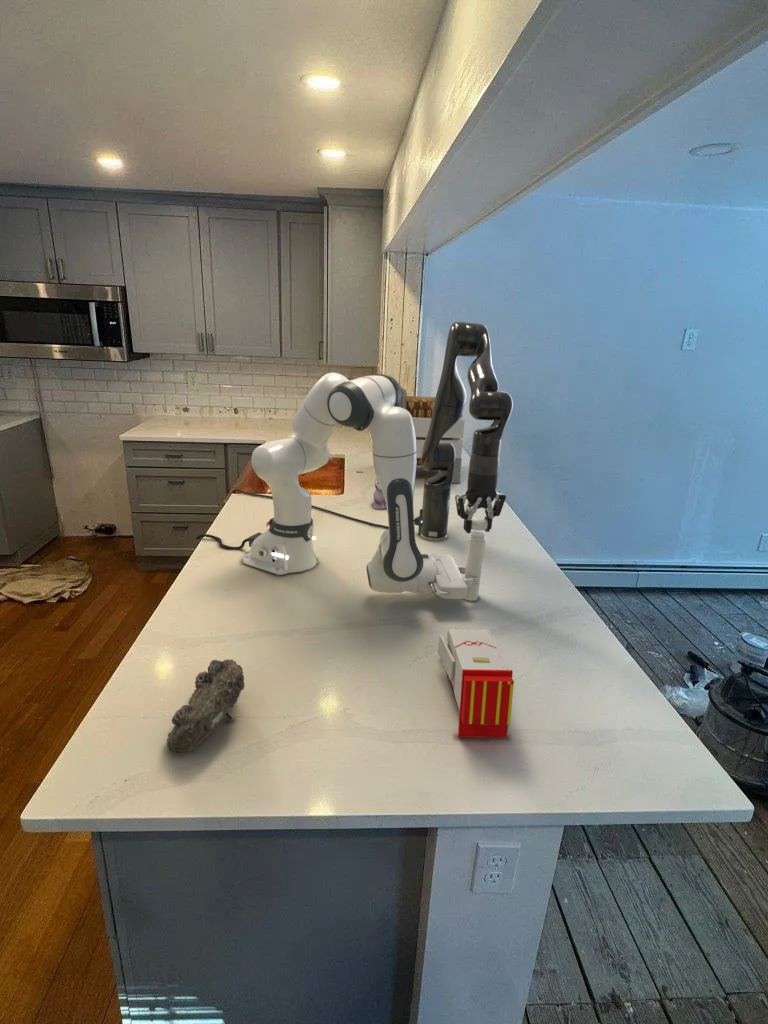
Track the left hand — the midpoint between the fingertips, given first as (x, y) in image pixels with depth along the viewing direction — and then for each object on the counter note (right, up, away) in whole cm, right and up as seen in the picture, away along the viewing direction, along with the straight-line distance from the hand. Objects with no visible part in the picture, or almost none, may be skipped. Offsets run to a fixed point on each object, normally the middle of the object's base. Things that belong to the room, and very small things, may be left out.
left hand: (475, 575), depth 156 cm
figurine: (-26, +20, +71) cm, 78 cm away
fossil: (-58, -22, -48) cm, 78 cm away
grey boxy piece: (-8, +36, +119) cm, 125 cm away
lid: (0, +15, -6) cm, 16 cm away
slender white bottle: (-1, -6, +2) cm, 7 cm away
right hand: (0, +12, -5) cm, 13 cm away
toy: (-7, -20, -37) cm, 43 cm away
